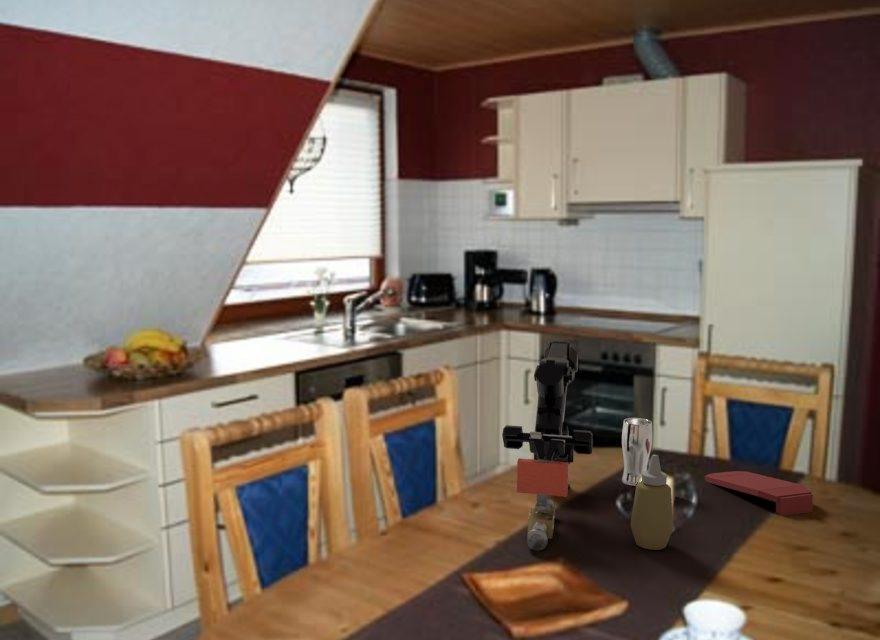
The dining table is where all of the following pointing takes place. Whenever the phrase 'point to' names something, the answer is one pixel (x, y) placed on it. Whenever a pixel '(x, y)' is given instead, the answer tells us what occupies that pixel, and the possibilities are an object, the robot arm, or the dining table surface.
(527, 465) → the valve lever
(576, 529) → the dining table surface
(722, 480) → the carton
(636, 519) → the squeeze bottle
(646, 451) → the beer glass
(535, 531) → the valve
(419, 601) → the dining table surface
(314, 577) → the dining table surface
